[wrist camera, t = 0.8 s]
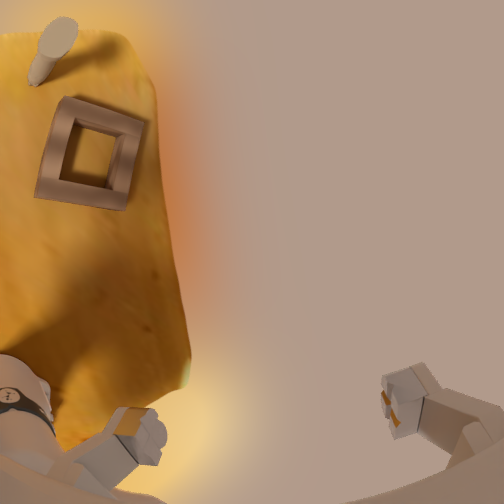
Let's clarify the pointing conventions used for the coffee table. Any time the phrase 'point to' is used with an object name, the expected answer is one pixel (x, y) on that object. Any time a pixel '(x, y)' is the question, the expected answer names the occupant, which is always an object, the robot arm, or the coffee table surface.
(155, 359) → the coffee table surface
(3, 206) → the coffee table surface
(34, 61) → the beige bolt
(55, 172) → the collar
